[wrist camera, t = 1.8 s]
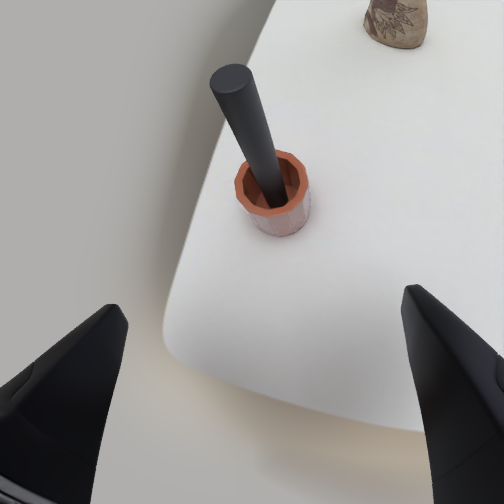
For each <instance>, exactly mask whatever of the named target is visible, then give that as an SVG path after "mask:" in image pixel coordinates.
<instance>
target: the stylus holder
mask: <svg viewBox="0 0 504 504" xmlns="http://www.w3.org/2000/svg"><path fill="white" fill-rule="evenodd" d="M275 152H276V155H277V159H278V162H279V166H280V170H281V173H282V177H283V181H284V185H285V188H286V192H287V196H288V200H289V202H288V203H287V204H286V205H285V206H283V207H278V208H273V209H270V208H269V206H268V204H267V202H266V200H265V198H264V196H263V193H262V191H261V189H260V187H259V185H258V183H257V181H256V179H255V177H254V174H253V172H252V170H251V168H250V166H249V164H248V162H247V160H246V161H245V162H244V163H243V164H242V165H241V167H240V169H239V171H238V174H237V176H236V178H235V181H234V183H235V190H236V197H237V199H238V201H239V202H240V204H241V205H242V206H243V208H244V209H245V210H246V212H247V213H248V215H249V216H250V217H251V219H252V220H253V221H254V222H255V224H256V225H257V226H258V227H259V228H260V230H262V231H263V232H265V233H267V234H269V235H272V236H287V235H290V234H293V233H295V232H296V231H298V230H299V229H300V228H301V227H302V226H303V225H304V224H305V222H306V221H307V218H308V215H309V210H310V194H309V182H308V178H307V173H306V169H305V167H304V165H303V164H302V163H301V162H300V161H299V160H298V159H297V158H296V157H295V156H294V155H293V154H291V153H287V152H283V151H279V150H275Z"/></svg>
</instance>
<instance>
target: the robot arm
mask: <svg viewBox="0 0 504 504" xmlns="http://www.w3.org/2000/svg"><path fill="white" fill-rule="evenodd" d="M401 315H402V321H403V326H404V332H405V338H406V344H407V351H408V357H409V362H410V366H411V370H412V374H413V378H414V383H415V387H416V391H417V396H418V400H419V405H420V410H421V414H422V420H423V425H424V430H425V436H426V441H427V448H428V455H429V462H430V469H431V476H432V488H433V499H434V504H504V359H503V358H502V357H501V356H500V355H498V353H497V352H496V351H495V350H494V349H493V348H492V347H491V346H490V345H489V344H487V343H486V342H485V341H484V340H483V339H482V338H481V337H480V336H479V335H478V334H477V333H475V332H474V331H473V330H472V329H471V328H470V327H469V326H468V325H467V324H465V323H464V322H463V321H462V320H461V319H460V318H459V317H457V316H456V315H455V314H454V313H453V312H452V311H450V310H449V309H448V308H447V307H446V306H445V305H443V304H442V303H441V302H440V301H439V300H438V299H436V298H435V297H434V296H433V295H431V294H430V293H429V292H428V291H427V290H425V289H424V288H423V287H422V286H420V285H418V284H415V285H408V286H406V287H405V289H404V294H403V300H402V305H401ZM127 332H128V321H127V319H126V318H125V316H124V314H123V313H122V311H121V309H120V307H119V306H118V305H116V304H107V305H105V306H103V307H102V308H101V309H100V310H98V311H97V312H96V313H94V314H93V315H92V316H90V317H89V318H88V319H87V320H85V321H84V322H83V323H81V324H80V325H79V326H78V327H76V328H75V329H74V330H72V331H71V332H70V333H69V334H67V335H66V336H65V337H63V338H62V339H61V340H60V341H58V342H57V343H56V344H55V345H53V346H52V347H51V348H50V349H49V350H47V351H46V352H45V353H44V354H42V355H41V356H40V357H39V358H37V359H36V360H35V362H33V363H31V364H30V365H29V366H28V367H26V369H24V370H23V371H22V372H20V373H19V374H18V375H16V376H15V377H14V378H13V379H11V380H10V381H9V382H7V383H6V384H5V385H3V386H2V387H0V504H90V501H91V495H92V488H93V483H94V477H95V471H96V465H97V460H98V455H99V450H100V446H101V441H102V437H103V432H104V428H105V423H106V419H107V415H108V411H109V407H110V403H111V399H112V396H113V391H114V388H115V384H116V381H117V377H118V374H119V369H120V366H121V362H122V356H123V351H124V346H125V341H126V336H127Z"/></svg>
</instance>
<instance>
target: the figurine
mask: <svg viewBox="0 0 504 504" xmlns="http://www.w3.org/2000/svg"><path fill="white" fill-rule="evenodd" d="M427 23H428V13H427V2H426V0H371V1H370V4H369V7H368V9H367V12H366V14H365V20H364V24H363V25H364V27H365V28H366V30H367V32H368V33H369V35H370V36H371V37H372V38H373V39H375V40H377V41H379V42H381V43H383V44H386V45H388V46H392V47H396V48H415V47H417V46H419V45H420V44H421V43H422V42H423V40H424V38H425V35H426V31H427Z"/></svg>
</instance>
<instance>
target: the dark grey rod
mask: <svg viewBox="0 0 504 504" xmlns="http://www.w3.org/2000/svg"><path fill="white" fill-rule="evenodd" d="M210 88H211V90H212V92H213V94H214V96H215V98H216V100H217V101H218V103H219V105H220V107H221V109H222V111H223V113H224V115H225V117H226V119H227V121H228V123H229V125H230V127H231V129H232V131H233V133H234V135H235V137H236V139H237V141H238V144H239V146H240V148H241V150H242V152H243V154H244V156H245V158H246V160H247V162H248V164H249V166H250V168H251V170H252V172H253V174H254V177H255V179H256V181H257V183H258V185H259V187H260V189H261V191H262V193H263V196H264V198H265V200H266V202H267V204H268V206H269V208H270V209H273V208H278V207H283V206H285V205H286V204H287V203H288V202H289V200H288V196H287V192H286V188H285V185H284V181H283V177H282V173H281V170H280V166H279V162H278V159H277V155H276V152H275V148H274V145H273V141H272V138H271V134H270V131H269V127H268V124H267V121H266V117H265V114H264V110H263V107H262V104H261V101H260V97H259V94H258V91H257V88H256V84H255V81H254V78H253V75H252V72H251V70H250V69H249V68H248V67H246V66H244V65H241V64H230V65H226V66H224V67H222V68H220V69H218V70H217V71H216V72H215V73H214V74H213V75H212V77H211V79H210Z"/></svg>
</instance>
